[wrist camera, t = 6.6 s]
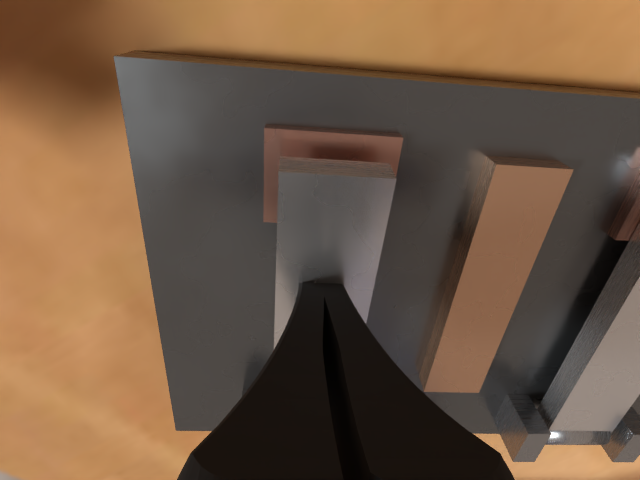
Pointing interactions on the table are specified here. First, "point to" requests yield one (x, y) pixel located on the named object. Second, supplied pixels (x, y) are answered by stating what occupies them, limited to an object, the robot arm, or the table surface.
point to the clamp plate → (402, 227)
